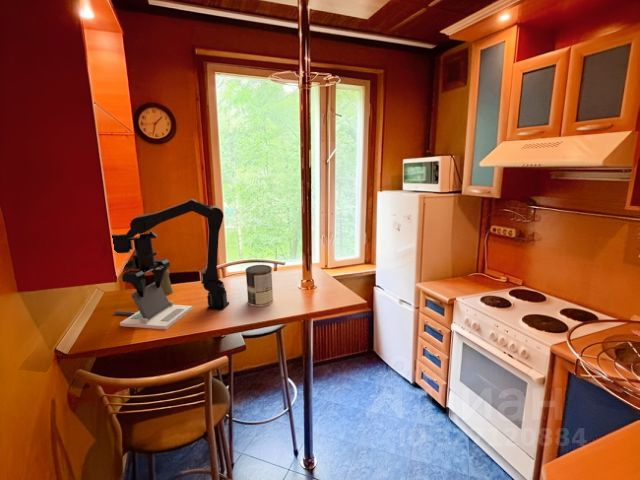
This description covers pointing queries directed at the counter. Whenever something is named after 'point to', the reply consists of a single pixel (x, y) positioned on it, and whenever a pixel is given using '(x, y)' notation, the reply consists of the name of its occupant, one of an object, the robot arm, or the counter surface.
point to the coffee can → (259, 285)
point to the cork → (166, 284)
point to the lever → (151, 301)
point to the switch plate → (156, 317)
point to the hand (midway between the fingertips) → (150, 292)
